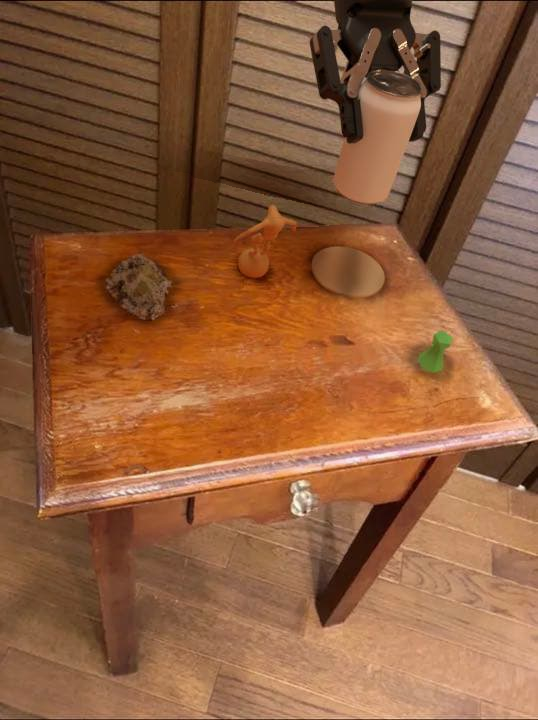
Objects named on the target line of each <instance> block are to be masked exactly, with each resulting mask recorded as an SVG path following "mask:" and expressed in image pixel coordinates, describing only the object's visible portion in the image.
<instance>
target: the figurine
mask: <svg viewBox="0 0 538 720" xmlns="http://www.w3.org/2000/svg"><path fill="white" fill-rule="evenodd" d="M285 225H290V226H291V227H290V231H291V232H293V233H296V231H297V226H298V223H297V221H296V220H293V219H291V218H288V217H285V216H282V215H281V213H280V212H279V210H278V209H277V207H276V205H275V204H270V205H269V206H268V209H267V213H266V217H264V219H263V220H262V221H261V222H259V223H258V224H255V225H253V226H252V227H250V228H249V229H246V231H244V232H242V233H240V234H239V235H238V236H236V237H235V238H234V240H233V243H232V244H233V245H234V244H236V242H238V240H240V239H243V238H245V237H247V236H248V235H250V234H251V233H254V232H257V231H259V230H262V229H263V231H262V232H258V233H256V234H254V235H252V236H251V238H250V239H251V243H252V247H248V248H246V249H244V250H243V251H242V252H241V253H240V255H239V256H238V260H237V267H238V270H239V271H240V273H241V274H242V275H243V276H245V277H247V278H252V279H257V278H262V277H263V276H265V275H266V273H267V272H268V270H269V267H270V259H269V256H268V255H267V253H268V252H269V249H270V248H271V242H270V241H274V240H275V239H277V237H278V236H279V233H280V232H281V231H282V230H283V228H284V227H285ZM263 241H264V249H262V248H260V247H259V244H258V243H261V242H263Z"/></svg>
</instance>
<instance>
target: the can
mask: <svg viewBox="0 0 538 720" xmlns="http://www.w3.org/2000/svg"><path fill="white" fill-rule="evenodd" d="M403 73H404V72H400V71H399V72H397V71H388V70H384V69H381V70H377V71H376V70H372V71H370V72H369V73H368V74H367V76H366V77H365V78H366V79H365V80H363V82H362V84H361V87H360V90H359V92H358V95H357V97H356V99H360V105H361V115H362V125H363V138H362V140H360V141H358V142H356V143H347V140H346V138H344V137H343V142H342V145H341V149H340V153H339V157H338V160H337V162H336V163H337V164H336V167H335V172H334V174H333V179H332V181H333V185H334V187H335V190H336V192H338V193H339V194H340V195H341V196H342V197H343V198H345V199H347V200H348V201H351V202H353V203H357V204H360V205H368V206H369V205H377V204H380V203H382V202H383V201H385V200H386V199H387V198H388V197H389V195H390V193H391V190H392V188H393V185H394V182H395V179H396V176H397V174H398V171H399V168H400V166H401V163H402V161H403V158H404V155H405V152H406V151H407V150H406V149H407V147H408V145H409V143H410V142H409V139H410V136H411V133H412V131H413V128H414V125H415V122H416V120H417V117H418V114H419V111H420V107H421V99H420V94H421V93H422V86H421V85H420V83H419V82H418V81H416V80H415V79H414V78H412V77H410V76H408V75H406V74H403Z"/></svg>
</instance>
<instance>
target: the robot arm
mask: <svg viewBox="0 0 538 720" xmlns="http://www.w3.org/2000/svg"><path fill="white" fill-rule="evenodd" d="M333 6H334V14H335V21H336V23H337V29H331V28H330V27H329V26H328V25H322V26H321V27H320V28H319V29H318V30H317V31H316V32H315V33H314V34H313V35H312V36H311V38H310V39H309V48H310V54H311V58H312V64H313V67H314V68H313V69H314V75H315V80H316V85H317V91H318V96H319V98H321V99H322V100H325V101H326V100H331V101H333V102H335V103H336V104H337V106H338V110H339V121H340V129H341V135H342V137H343V139H344V138H346V140H347V143H356V142H358V141H360V140H362V138H363V125H362V115H361V105H360V99H356V97H357V95H358V92H359V90H360V87H361V85H362V84H363V82H364V79H365V78H366V76H367V74H368V73H369V72H370V71H372V70H376V71H377V70H381V69H384V70H388V71H397V72H400V71H399V70H400V69H401V68H402V67H403V72H402V73H403V74H406V75H408V76H410V77H412V78H414V79H415V80H416V81H418V82H419V83H420V85H421V86H422V93H421V94H420V99H421V107H420V111H419V114H418V117H417V120H416V122H415V125H414V128H413V131H412V133H411V136H410V139H409V142H408V143H411V142H416V141H418V140H420V139H422V138H423V137H424V134H425V133H426V130H427V117H426V107H425V106H426V105H425V104H426V103H425V102H426V101H425V100H426V99H427V98H428V97H430V96H431V95H433V94H435V93H437V92H439V91H440V90H441V88H442V70H441V69H442V67H441V66H442V60H441V55H442V54H441V51H442V50H441V34H440V32H439V31H438V30H432V31H430V32H429V33H427V34H426V33H422V32H421V33H420V32H416V30H415V28H414V26H413V24H412V21H411V12H412V7H413V0H333ZM338 48H339V50H340V51H341V53H342V55H343V56H344V57H345V58H346V60H347V61H346V64H345V67H344V69H343V72H342V75H341V76H340V71H339V65H338V60H337V54H336V52H337V51H338ZM411 49H413V51H414V52H413V53H412V51H411Z"/></svg>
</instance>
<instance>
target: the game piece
mask: <svg viewBox="0 0 538 720" xmlns="http://www.w3.org/2000/svg"><path fill="white" fill-rule="evenodd" d="M431 341H432V342H431V344H432V346H430V347H428V348H426V350H423V351H422V352H421V353H419V355H418V358H417V362H418V364H419V365H420V366H421V368H422V369H423V370H425V371H427V372H429V373H432V374H434V373H438V372H442V371H443V366H444V350H447V349H449V348H451V345H452V341H453V336H452V335H450V334H448V333H447V332H445V331H444V330H440V331H438V332H435V333H434V334H433V338H432V340H431Z"/></svg>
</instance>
